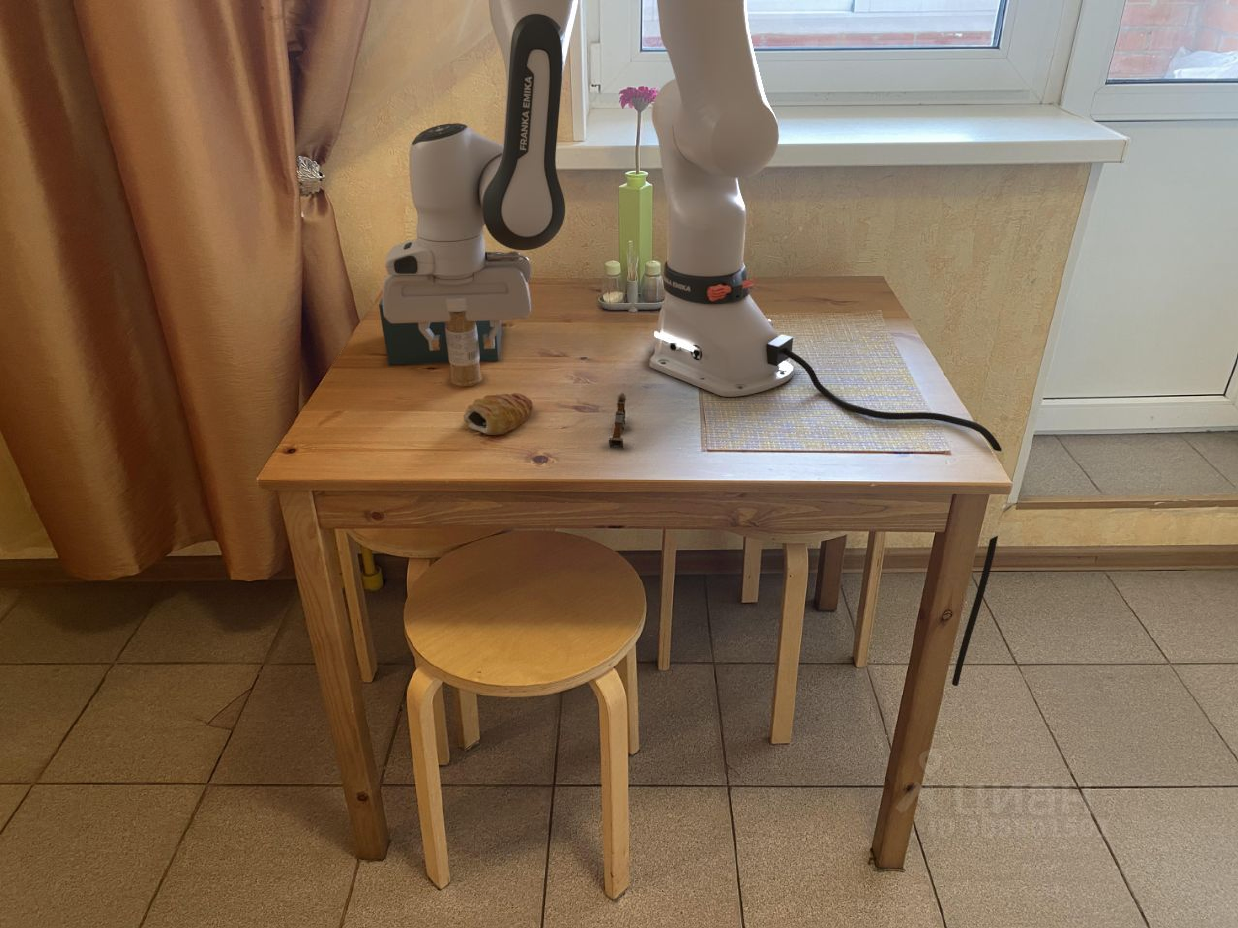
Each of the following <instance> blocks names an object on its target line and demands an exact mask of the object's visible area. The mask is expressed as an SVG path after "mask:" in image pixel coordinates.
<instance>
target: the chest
mask: <svg viewBox="0 0 1238 928" xmlns="http://www.w3.org/2000/svg"><path fill="white" fill-rule="evenodd" d="M379 314H380V320H381V327H382V334H383V340H384V346H385V352H386V360H387V365H388V366H399V365H400V366H401V365H402V366H403V365H427V364H429V365H430V364H450V362H449V357H448V349H447V341H446V332H445V322H430V325H429V328H430V330H431V331H432V332H433V334H434V335H440V342H441V348H440V349H441V350H434V351H430V349H429V341H428V340H427V339H426V338H425V336H424V335H423V334H422V333H421V331H420V330H419V326H418V323H390V322H389V321H388V320H387V319H386V318H385V317H384V313H383V310H380V309H379ZM475 322H476V327H477V336H478V346H479V357H480V360H479V363H483V362H485V363H487V362H500V361H499V360H500V351H501V343H502V342H501V341H502V333H503V326H502V325H503V324H502V322H501V324H500V328H499V330H498V332H497V334H496V336H495V337H494V339H495V348H494V349H484V343H483V336H484V333H490V331H491V329H492V327H491V326H490V320H484V321H475Z"/></svg>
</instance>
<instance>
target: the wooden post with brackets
mask: <svg viewBox="0 0 1238 928" xmlns="http://www.w3.org/2000/svg"><path fill="white" fill-rule="evenodd" d="M617 396H618V398H617V402H616V406H617V408H616V409H617V410H616V411H615V414H614V416H615V418H614V429H613V434H612V436H611V437H609V438H608V447H609V449H614V450H615V449H616V450H624V438H623V437H622V432H624V431H625V425H626V409H625V407H626V406H625V405H626V400H627V397H626V394H625V393H624V392H621V393H620V394H617Z"/></svg>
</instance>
